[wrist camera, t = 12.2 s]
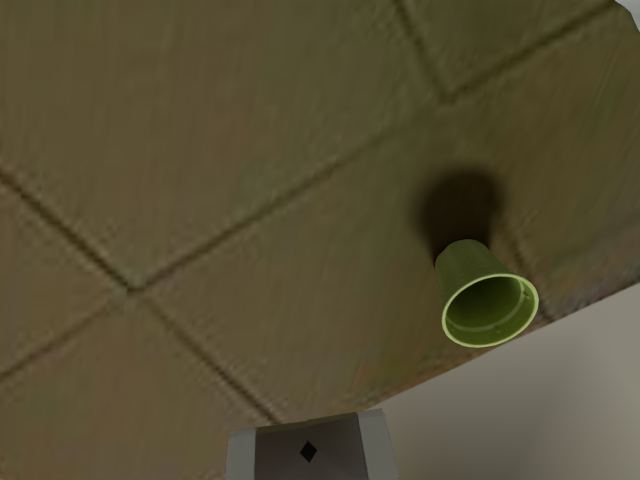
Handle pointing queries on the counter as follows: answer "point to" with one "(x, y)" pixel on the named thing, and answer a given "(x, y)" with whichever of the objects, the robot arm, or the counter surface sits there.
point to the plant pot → (482, 296)
